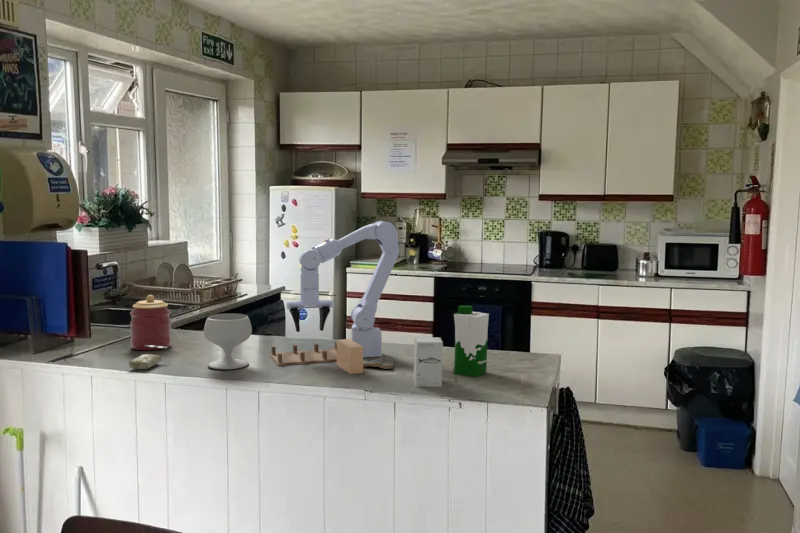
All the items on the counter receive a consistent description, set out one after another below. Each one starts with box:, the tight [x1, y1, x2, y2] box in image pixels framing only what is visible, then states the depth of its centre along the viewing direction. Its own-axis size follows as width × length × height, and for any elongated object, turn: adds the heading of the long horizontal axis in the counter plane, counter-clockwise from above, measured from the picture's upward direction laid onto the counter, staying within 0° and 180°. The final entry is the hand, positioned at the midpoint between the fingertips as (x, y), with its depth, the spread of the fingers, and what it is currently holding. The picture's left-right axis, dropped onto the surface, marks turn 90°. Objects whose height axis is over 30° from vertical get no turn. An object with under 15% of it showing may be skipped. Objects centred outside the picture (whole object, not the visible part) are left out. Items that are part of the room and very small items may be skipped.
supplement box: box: [413, 336, 444, 388], centre depth 190 cm, size 7×7×13 cm
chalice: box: [203, 312, 253, 370], centre depth 208 cm, size 14×14×15 cm
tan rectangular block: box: [335, 338, 364, 375], centre depth 206 cm, size 4×12×8 cm, turn 24°
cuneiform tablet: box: [128, 345, 169, 370], centre depth 207 cm, size 7×4×12 cm
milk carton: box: [453, 304, 490, 378], centre depth 201 cm, size 9×9×20 cm
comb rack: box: [268, 341, 337, 367], centre depth 220 cm, size 23×15×3 cm, turn 111°
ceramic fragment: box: [363, 356, 395, 370], centre depth 210 cm, size 11×3×10 cm
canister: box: [129, 294, 172, 351], centre depth 232 cm, size 13×13×18 cm
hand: (309, 330), depth 219 cm, fingers open, 7 cm apart
